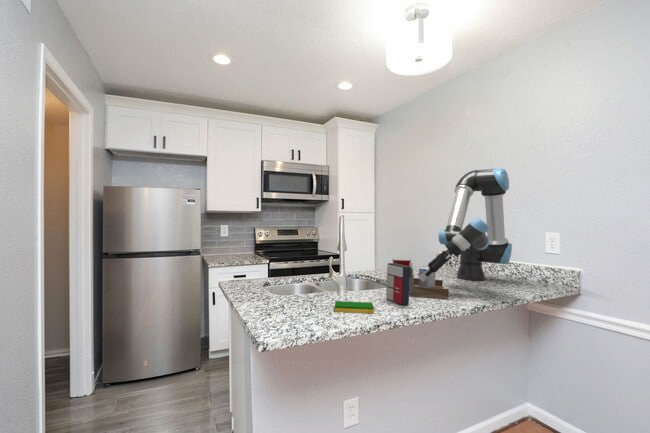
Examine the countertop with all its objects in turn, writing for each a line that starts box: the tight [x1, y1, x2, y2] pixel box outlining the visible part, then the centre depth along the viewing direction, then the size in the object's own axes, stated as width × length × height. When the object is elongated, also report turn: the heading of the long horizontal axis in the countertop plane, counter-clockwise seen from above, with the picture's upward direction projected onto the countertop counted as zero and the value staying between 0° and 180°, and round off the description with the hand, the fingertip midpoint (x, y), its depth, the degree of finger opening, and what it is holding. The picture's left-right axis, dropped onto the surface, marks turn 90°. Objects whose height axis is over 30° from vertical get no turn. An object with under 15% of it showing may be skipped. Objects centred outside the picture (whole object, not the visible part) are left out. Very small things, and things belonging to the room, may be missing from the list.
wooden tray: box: [409, 262, 449, 300], centre depth 143 cm, size 22×16×12 cm
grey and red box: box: [385, 262, 411, 306], centre depth 124 cm, size 11×4×15 cm, turn 23°
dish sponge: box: [334, 300, 375, 314], centre depth 111 cm, size 7×14×2 cm, turn 86°
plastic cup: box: [391, 258, 412, 266], centre depth 171 cm, size 11×11×12 cm
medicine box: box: [418, 266, 437, 287], centre depth 143 cm, size 8×4×9 cm, turn 134°
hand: (420, 277), depth 143 cm, fingers closed on medicine box, 9 cm apart
